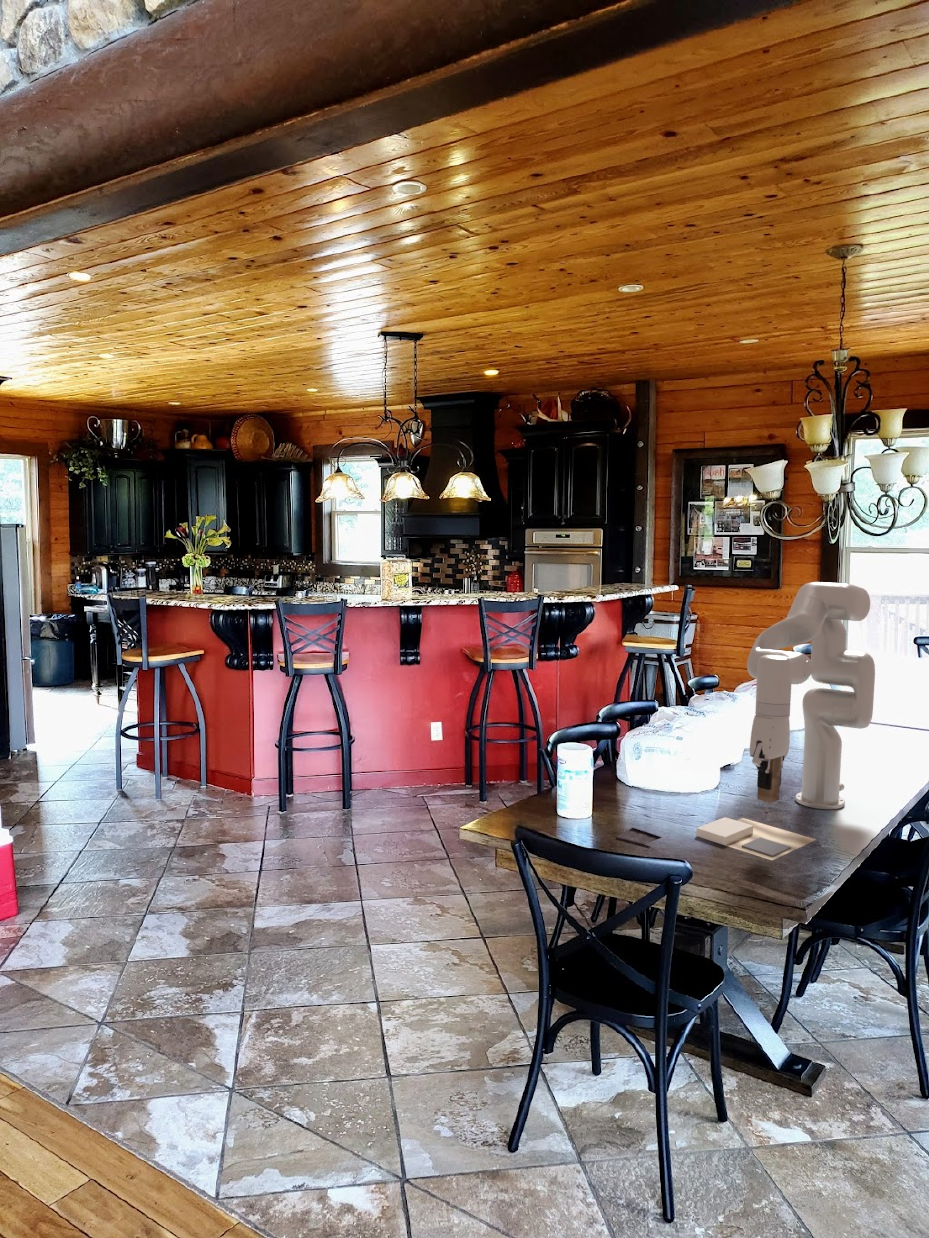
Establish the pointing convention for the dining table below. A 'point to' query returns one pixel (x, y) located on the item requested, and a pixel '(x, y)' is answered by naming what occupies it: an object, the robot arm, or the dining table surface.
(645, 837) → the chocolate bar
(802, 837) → the board
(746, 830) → the tile
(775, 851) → the mat
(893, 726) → the dining table surface
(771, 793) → the brown wooden block
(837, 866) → the dining table surface
